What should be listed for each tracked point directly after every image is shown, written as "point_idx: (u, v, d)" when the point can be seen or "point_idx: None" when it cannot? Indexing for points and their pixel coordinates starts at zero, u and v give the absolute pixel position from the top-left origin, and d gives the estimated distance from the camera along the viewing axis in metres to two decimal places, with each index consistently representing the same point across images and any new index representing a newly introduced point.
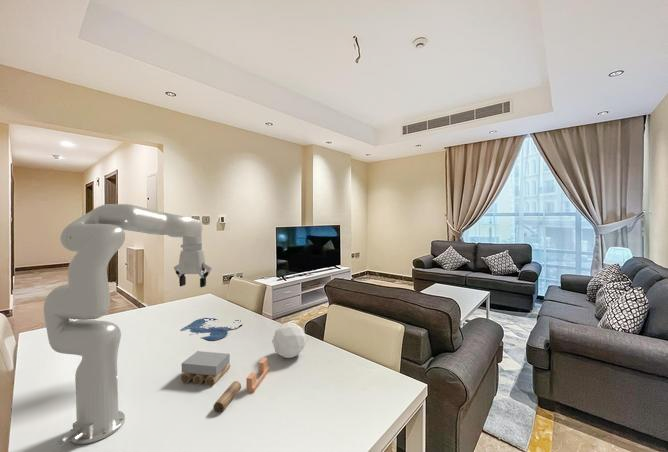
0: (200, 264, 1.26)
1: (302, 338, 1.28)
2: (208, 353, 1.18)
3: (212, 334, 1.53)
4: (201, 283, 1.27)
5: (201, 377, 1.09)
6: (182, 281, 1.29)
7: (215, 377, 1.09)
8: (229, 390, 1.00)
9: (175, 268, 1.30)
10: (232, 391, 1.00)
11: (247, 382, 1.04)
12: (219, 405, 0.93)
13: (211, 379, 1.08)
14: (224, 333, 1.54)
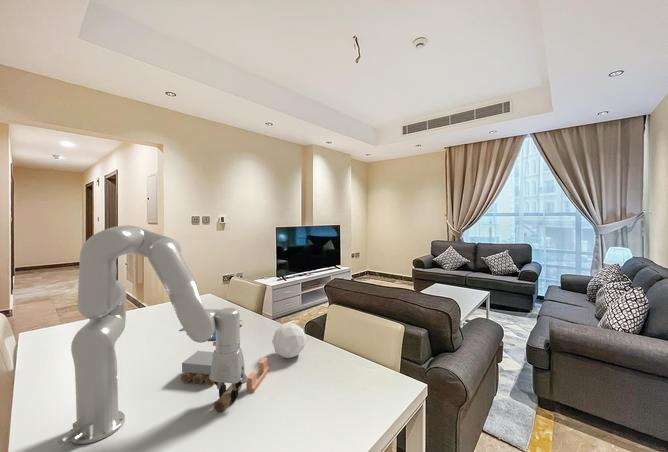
0: (239, 370, 0.96)
1: (302, 338, 1.28)
2: (208, 353, 1.19)
3: None
4: (233, 397, 0.98)
5: (201, 377, 1.09)
6: (222, 394, 0.99)
7: None
8: (230, 389, 1.00)
9: None
10: None
11: (247, 382, 1.04)
12: (220, 404, 0.93)
13: None
14: None
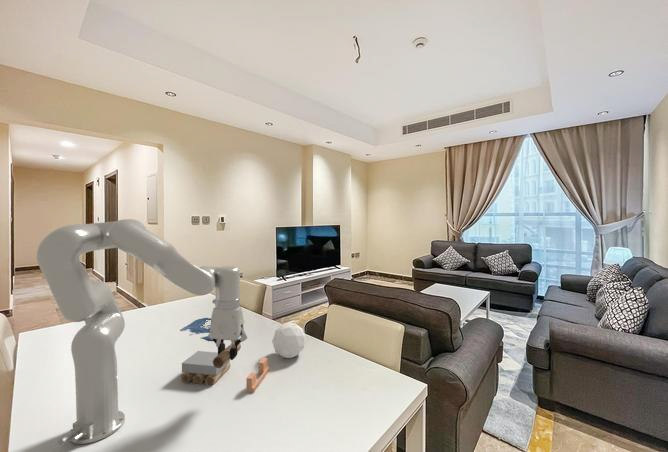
0: (239, 327, 0.96)
1: (302, 338, 1.28)
2: (208, 353, 1.19)
3: None
4: (232, 355, 0.97)
5: (201, 377, 1.09)
6: None
7: (215, 377, 1.09)
8: (229, 348, 0.99)
9: (210, 336, 0.99)
10: None
11: (247, 382, 1.04)
12: (218, 360, 0.93)
13: (211, 379, 1.08)
14: None
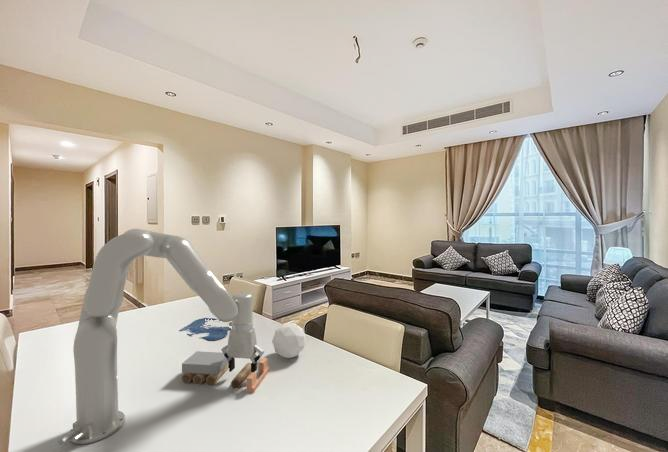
0: (252, 347, 1.09)
1: (302, 338, 1.28)
2: (208, 353, 1.19)
3: (212, 334, 1.53)
4: (252, 369, 1.10)
5: (201, 377, 1.09)
6: (232, 365, 1.12)
7: (216, 376, 1.09)
8: (244, 370, 1.13)
9: (223, 350, 1.13)
10: (246, 371, 1.13)
11: (247, 382, 1.04)
12: (236, 382, 1.06)
13: (212, 378, 1.08)
14: (224, 333, 1.54)
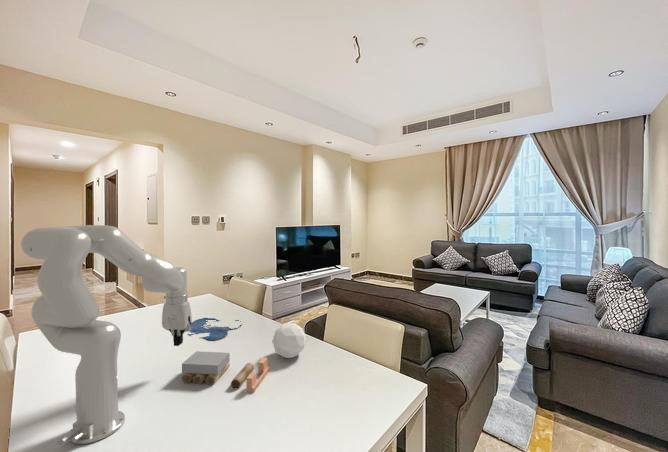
0: (185, 319, 1.13)
1: (302, 338, 1.28)
2: (208, 353, 1.19)
3: (212, 334, 1.53)
4: (177, 341, 1.15)
5: (201, 377, 1.09)
6: None
7: (215, 376, 1.09)
8: (244, 370, 1.13)
9: None
10: (246, 371, 1.13)
11: (247, 382, 1.04)
12: (236, 382, 1.06)
13: (211, 378, 1.08)
14: (224, 333, 1.54)
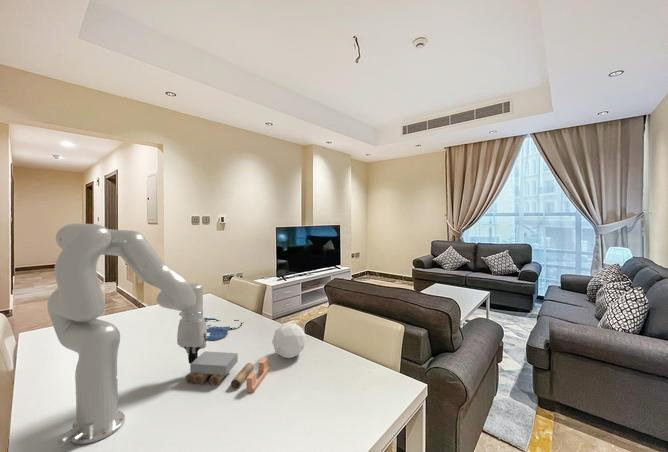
0: (201, 336, 1.12)
1: (302, 338, 1.28)
2: (216, 353, 1.18)
3: (212, 334, 1.53)
4: (192, 359, 1.14)
5: (202, 377, 1.09)
6: None
7: (219, 380, 1.10)
8: (244, 370, 1.13)
9: None
10: (246, 371, 1.13)
11: (247, 382, 1.04)
12: (236, 382, 1.06)
13: (216, 381, 1.08)
14: (224, 333, 1.54)
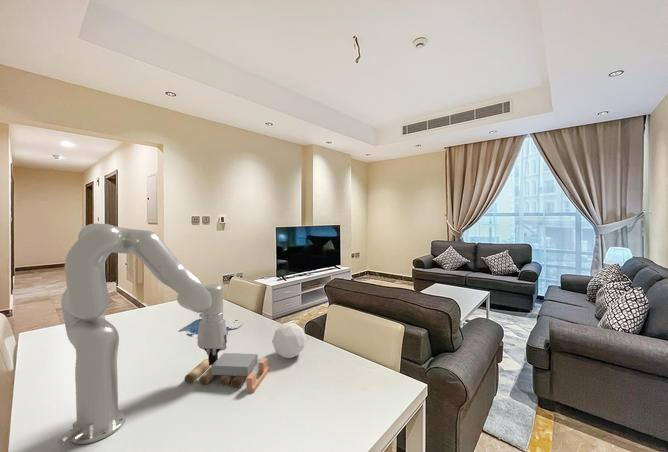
0: (222, 337, 1.11)
1: (302, 338, 1.28)
2: (235, 354, 1.17)
3: None
4: (212, 361, 1.12)
5: (207, 382, 1.09)
6: None
7: None
8: None
9: None
10: None
11: (247, 382, 1.04)
12: (236, 382, 1.06)
13: (222, 383, 1.08)
14: None
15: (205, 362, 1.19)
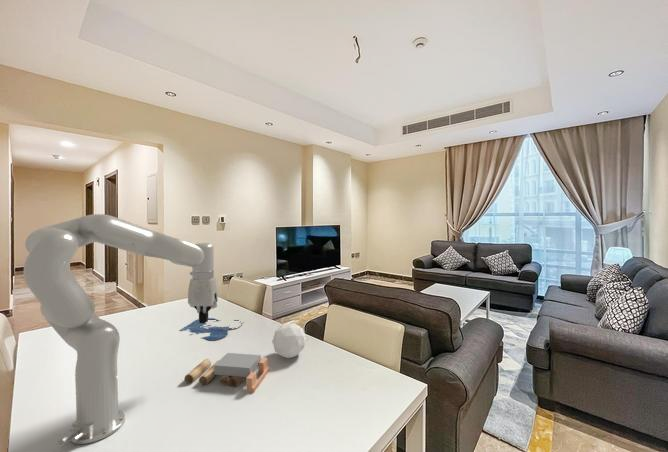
0: (212, 295, 1.11)
1: (302, 338, 1.28)
2: (239, 355, 1.17)
3: (212, 334, 1.53)
4: (203, 319, 1.12)
5: (207, 382, 1.09)
6: None
7: None
8: None
9: (192, 305, 1.14)
10: None
11: (247, 382, 1.04)
12: (233, 380, 1.07)
13: (223, 383, 1.08)
14: (224, 333, 1.54)
15: (205, 362, 1.19)
